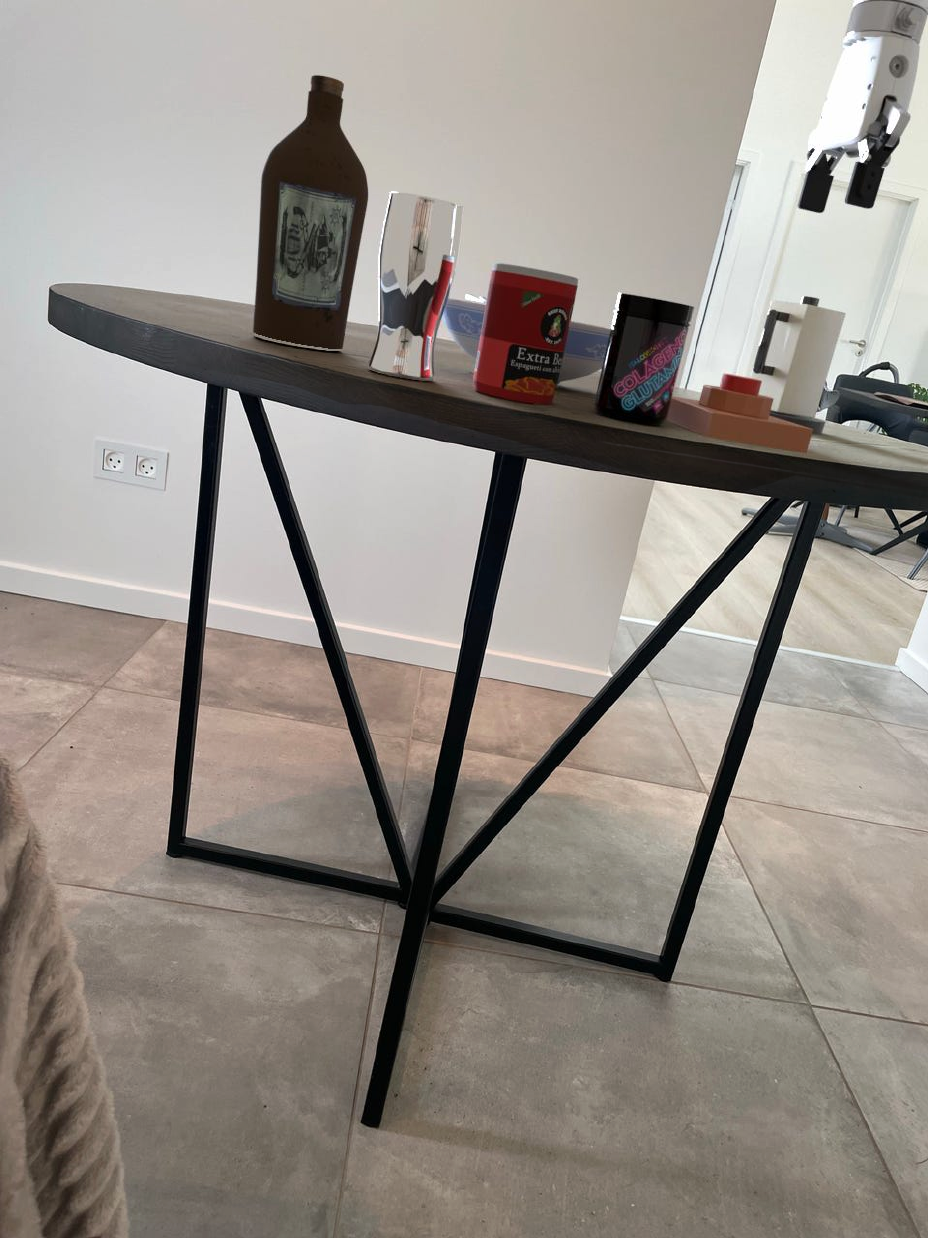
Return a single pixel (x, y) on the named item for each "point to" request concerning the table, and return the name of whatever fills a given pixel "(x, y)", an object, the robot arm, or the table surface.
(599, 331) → the ramen bowl
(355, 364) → the table surface
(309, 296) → the olive oil
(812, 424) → the kettle base
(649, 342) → the supplement container
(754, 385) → the button
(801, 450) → the switch block
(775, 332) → the kettle
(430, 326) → the beer glass
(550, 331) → the canned food
